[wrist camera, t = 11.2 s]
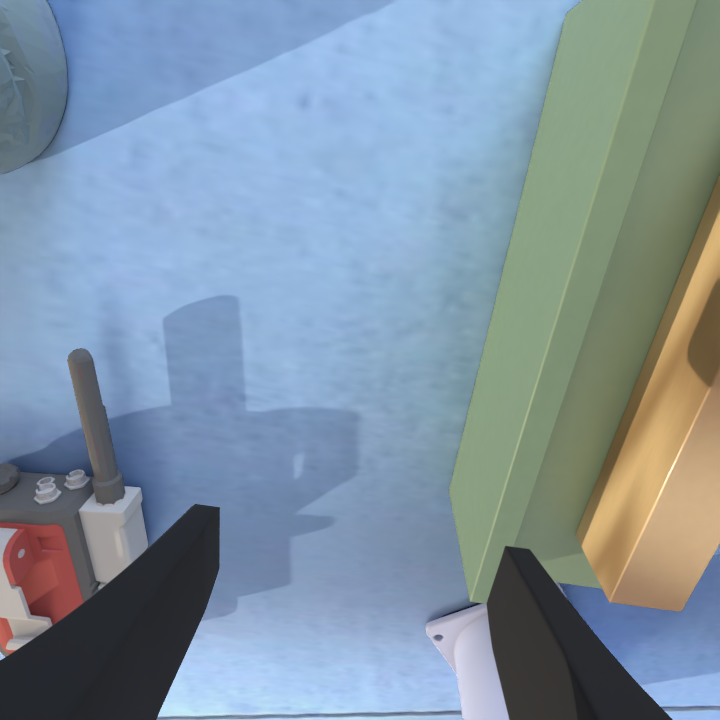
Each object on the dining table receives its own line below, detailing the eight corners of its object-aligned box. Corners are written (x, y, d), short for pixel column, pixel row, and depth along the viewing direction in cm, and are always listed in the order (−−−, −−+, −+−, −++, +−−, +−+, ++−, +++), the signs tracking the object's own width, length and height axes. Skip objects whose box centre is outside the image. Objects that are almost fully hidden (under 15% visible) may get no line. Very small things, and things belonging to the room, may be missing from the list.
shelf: (625, 514, 23) (706, 634, 17) (448, 490, 23) (469, 602, 18) (832, 47, 16) (1110, -24, 10) (565, 11, 16) (677, -81, 10)
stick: (636, 543, 18) (681, 612, 15) (574, 535, 18) (608, 603, 15) (844, 101, 12) (982, 83, 9) (751, 89, 12) (861, 67, 9)
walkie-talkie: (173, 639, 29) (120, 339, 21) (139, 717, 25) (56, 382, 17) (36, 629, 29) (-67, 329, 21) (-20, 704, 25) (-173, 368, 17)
